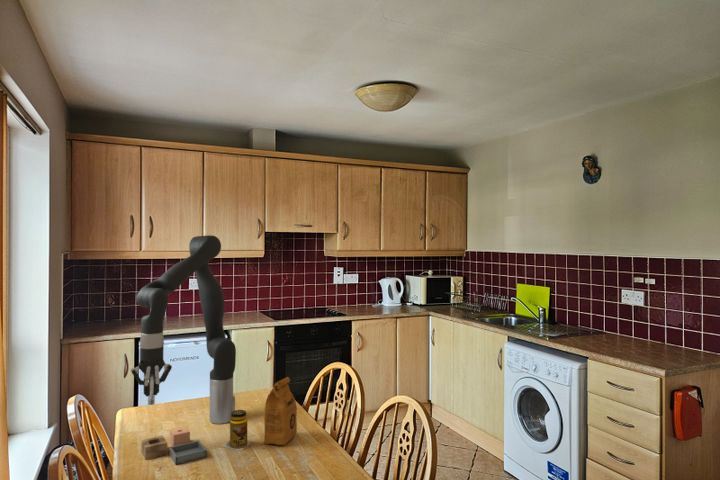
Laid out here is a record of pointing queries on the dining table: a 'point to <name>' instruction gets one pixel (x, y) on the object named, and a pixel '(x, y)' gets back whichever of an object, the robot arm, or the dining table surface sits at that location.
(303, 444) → the dining table surface
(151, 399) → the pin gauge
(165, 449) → the go block
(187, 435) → the block
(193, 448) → the tray
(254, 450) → the dining table surface
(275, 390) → the coffee package
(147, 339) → the robot arm
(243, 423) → the condiment
